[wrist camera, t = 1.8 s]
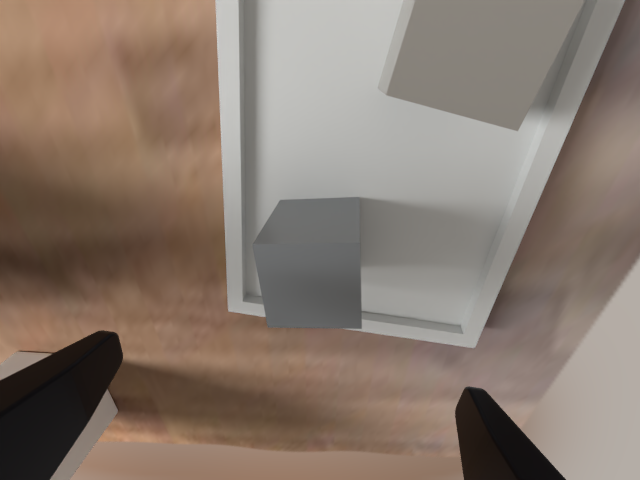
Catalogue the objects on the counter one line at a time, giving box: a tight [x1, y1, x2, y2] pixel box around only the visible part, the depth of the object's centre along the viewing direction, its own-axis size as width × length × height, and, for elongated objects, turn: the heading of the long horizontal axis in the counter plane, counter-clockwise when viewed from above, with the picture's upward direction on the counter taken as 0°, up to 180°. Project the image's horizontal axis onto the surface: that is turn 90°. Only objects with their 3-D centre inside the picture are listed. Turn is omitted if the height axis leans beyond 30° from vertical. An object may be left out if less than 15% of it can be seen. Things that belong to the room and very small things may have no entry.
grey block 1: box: [252, 197, 362, 329], centre depth 14 cm, size 4×4×4 cm
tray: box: [216, 0, 625, 348], centre depth 14 cm, size 17×13×2 cm
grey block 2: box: [378, 0, 585, 131], centre depth 10 cm, size 4×4×4 cm
